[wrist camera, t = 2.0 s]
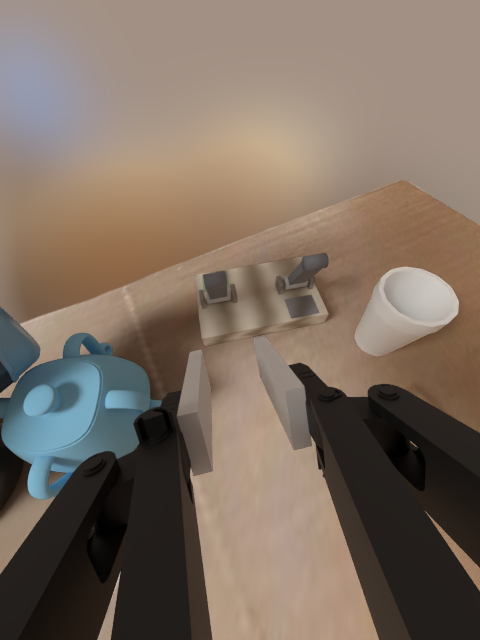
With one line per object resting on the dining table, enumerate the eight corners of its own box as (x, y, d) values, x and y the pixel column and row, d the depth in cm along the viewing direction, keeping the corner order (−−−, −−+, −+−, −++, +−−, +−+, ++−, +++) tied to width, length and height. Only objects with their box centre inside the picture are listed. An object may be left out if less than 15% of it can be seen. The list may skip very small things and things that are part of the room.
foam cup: (400, 321, 44) (451, 273, 33) (405, 370, 39) (467, 332, 28) (345, 312, 45) (376, 262, 34) (344, 358, 41) (380, 317, 29)
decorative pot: (81, 503, 32) (-22, 544, 20) (37, 408, 38) (-64, 394, 26) (180, 417, 37) (145, 407, 24) (127, 342, 42) (77, 304, 30)
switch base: (204, 346, 43) (199, 331, 38) (196, 285, 50) (190, 266, 45) (324, 322, 44) (332, 306, 40) (299, 266, 51) (304, 247, 47)
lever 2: (284, 291, 45) (305, 270, 32) (281, 278, 45) (301, 253, 33) (304, 287, 45) (333, 265, 33) (302, 275, 45) (329, 248, 33)
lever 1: (208, 305, 44) (201, 289, 32) (206, 292, 44) (198, 271, 32) (230, 301, 44) (231, 283, 32) (228, 288, 44) (228, 266, 32)
